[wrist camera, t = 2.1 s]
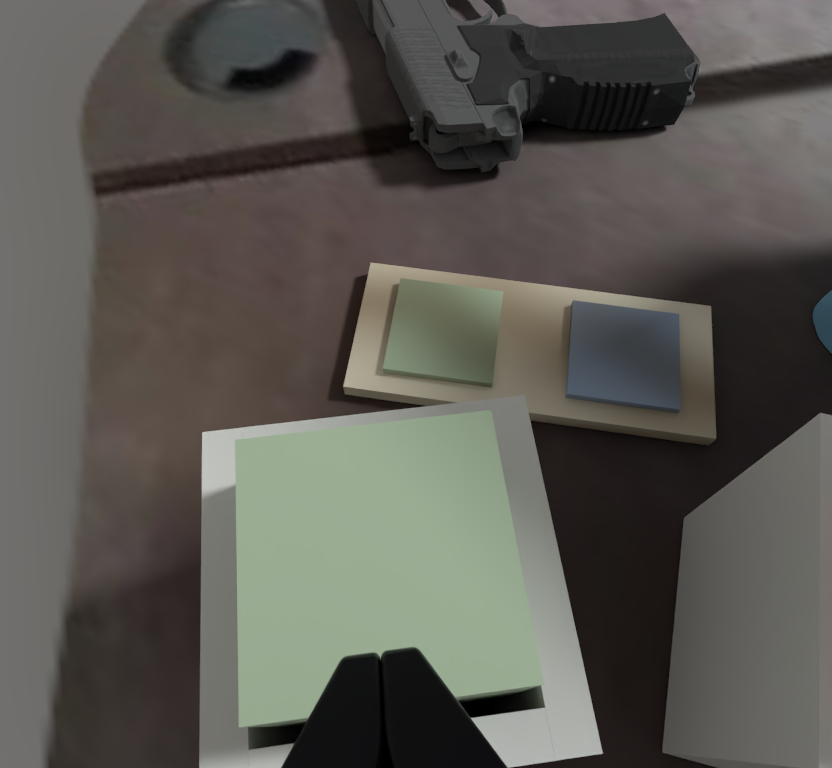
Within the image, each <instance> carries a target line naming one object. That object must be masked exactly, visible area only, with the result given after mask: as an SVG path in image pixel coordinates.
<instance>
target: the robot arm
mask: <svg viewBox="0 0 832 768" xmlns="http://www.w3.org/2000/svg"><path fill="white" fill-rule="evenodd" d="M281 768H508V767H507V766H506V765H505V763H504V762H503V761H502V759H501V758H500V757H499V755H498V754H497V753H496V751H495V750H494V749H493V747H492V746H491V745H490V743H489V742H488V741H487V739H486V738H485V737H484V735H483V734H482V733H481V731H480V730H479V728H478V727H477V726H476V724H475V723H474V722H473V720H472V719H471V718H470V716H469V715H468V714H467V712H466V711H465V710H464V708H463V707H462V706H461V704H460V703H459V702H458V700H457V699H456V698H455V696H454V695H453V694H452V692H451V691H450V690H449V688H448V687H447V686H446V684H445V683H444V682H443V680H442V679H441V678H440V676H439V675H438V674H437V672H436V671H435V670H434V668H433V667H432V666H431V664H430V663H429V662H428V660H427V659H426V657H425V656H424V655H423V653H422V652H421V651H420V650H419V649H418V648H416V647H407V648H400V649H392V650H386V651H384V652H383V653H382V655H381V659H380V656H379V655H378V654H377V653H375V652H370V653H363V654H356V655H348V656H345V657H343V658H342V659H341V660H340V662H339V663H338V665H337V667H336V669H335V671H334V672H333V674H332V676H331V678H330V680H329V682H328V683H327V685H326V687H325V689H324V691H323V692H322V694H321V696H320V698H319V700H318V702H317V703H316V705H315V707H314V709H313V711H312V712H311V714H310V716H309V718H308V720H307V721H306V723H305V725H304V727H303V729H302V731H301V732H300V734H299V736H298V738H297V740H296V741H295V743H294V745H293V747H292V749H291V751H290V752H289V754H288V756H287V758H286V760H285V761H284V763H283V765H282V767H281Z"/></svg>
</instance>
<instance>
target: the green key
mask: <svg viewBox="0 0 832 768" xmlns="http://www.w3.org/2000/svg"><path fill="white" fill-rule="evenodd" d="M235 476H236V552H237V628H238V704H239V727H303V726H304V725H305V723H306V721H307V720H308V718H309V716H310V714H311V712H312V711H313V709H314V707H315V705H316V703H317V702H318V700H319V698H320V696H321V694H322V692H323V691H324V689H325V687H326V685H327V683H328V682H329V680H330V678H331V676H332V674H333V672H334V671H335V669H336V667H337V665H338V663H339V662H340V660H341V659H342V658H343V657H345V656H348V655H356V654H363V653H370V652H375V653H377V654H378V655H379V656H380V659H381V655H382V653H383V652H384V651H386V650H392V649H400V648H407V647H416V648H418V649H419V650H420V651H421V652H422V653H423V655H424V656H425V657H426V659H427V660H428V662H429V663H430V664H431V666H432V667H433V668H434V670H435V671H436V672H437V674H438V675H439V676H440V678H441V679H442V680H443V682H444V683H445V684H446V686H447V687H448V688H449V690H450V691H451V692H452V694H453V695H454V696H455V698H456V699H457V700H458V702H459V703H460V704H461V705H463V704H470V703H477V702H484V701H491V700H496V699H499V698H502V697H506V696H509V695H512V694H515V693H518V692H522V691H525V690H528V689H531V688H535V687H538V686H541V685H544V683H543V677H542V672H541V667H540V662H539V657H538V651H537V646H536V641H535V636H534V630H533V625H532V620H531V615H530V610H529V604H528V599H527V594H526V589H525V584H524V578H523V573H522V568H521V563H520V558H519V552H518V547H517V542H516V537H515V532H514V526H513V521H512V516H511V511H510V506H509V500H508V495H507V490H506V485H505V480H504V474H503V469H502V464H501V459H500V454H499V448H498V443H497V438H496V433H495V428H494V422H493V417H492V412H491V410H486V411H478V412H469V413H460V414H452V415H443V416H435V417H426V418H417V419H409V420H400V421H392V422H383V423H375V424H366V425H357V426H349V427H340V428H332V429H323V430H315V431H306V432H297V433H289V434H280V435H272V436H263V437H254V438H246V439H237V440H235Z"/></svg>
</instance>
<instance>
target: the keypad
mask: <svg viewBox="0 0 832 768" xmlns="http://www.w3.org/2000/svg"><path fill="white" fill-rule="evenodd" d="M486 410H491V412H492V417H493V422H494V428H495V433H496V438H497V443H498V448H499V454H500V459H501V464H502V469H503V474H504V480H505V485H506V490H507V495H508V500H509V506H510V511H511V516H512V521H513V526H514V532H515V537H516V542H517V547H518V552H519V558H520V563H521V568H522V573H523V578H524V584H525V589H526V594H527V599H528V604H529V610H530V615H531V620H532V625H533V630H534V636H535V641H536V646H537V651H538V657H539V662H540V667H541V672H542V677H543V683H544V685H541V686H538V687H535V688H531V689H528V690H525V691H522V692H518V693H515V694H512V695H509V696H506V697H502V698H499V699H496V700H493V701H494V707H495V714H493V715H486V716H479V717H472V718H471V719H472V720H473V722H474V723H475V724H476V726H477V727H478V728H479V730H480V731H481V733H482V734H483V735H484V737H485V738H486V739H487V741H488V742H489V743H490V745H491V746H492V747H493V749H494V750H495V751H496V753H497V754H498V755H499V757H500V758H501V759H502V761H503V762H504V763H505V765H506V766H507V767H508V768H510V767H517V766H524V765H531V764H537V763H544V762H551V761H557V760H563V759H570V758H577V757H584V756H591V755H597V754H603V752H602V747H601V743H600V738H599V733H598V729H597V724H596V720H595V715H594V710H593V706H592V701H591V697H590V692H589V688H588V683H587V678H586V674H585V669H584V665H583V660H582V655H581V651H580V646H579V642H578V637H577V632H576V628H575V623H574V619H573V614H572V610H571V605H570V600H569V596H568V591H567V587H566V582H565V577H564V573H563V568H562V564H561V559H560V554H559V550H558V545H557V541H556V536H555V532H554V527H553V522H552V518H551V513H550V509H549V504H548V499H547V495H546V490H545V486H544V481H543V476H542V472H541V467H540V463H539V458H538V454H537V449H536V444H535V440H534V435H533V431H532V426H531V421H530V417H529V412H528V408H527V403H526V398H525V395H521V396H512V397H504V398H495V399H485V400H477V401H468V402H459V403H451V404H442V405H433V406H425V407H416V408H407V409H399V410H390V411H382V412H373V413H364V414H356V415H347V416H338V417H330V418H321V419H312V420H304V421H295V422H286V423H278V424H269V425H260V426H252V427H243V428H235V429H227V430H218V431H210V432H202V518H201V626H200V734H199V768H281V767H282V765H283V763H284V761H285V760H286V758H287V756H288V754H289V752H290V751H291V749H292V747H293V745H294V743H295V741H296V740H297V738H298V736H299V734H300V732H301V731H302V729H303V727H304V726H303V727H239V704H238V628H237V552H236V476H235V440H237V439H246V438H254V437H263V436H272V435H280V434H289V433H297V432H306V431H315V430H323V429H332V428H340V427H349V426H357V425H366V424H375V423H383V422H392V421H400V420H409V419H417V418H426V417H435V416H443V415H452V414H460V413H469V412H478V411H486ZM662 753H666V754H669V755H673V756H676V757H680V758H683V759H687V760H690V761H695V762H699V763H702V764H706V765H709V766H713V767H716V768H832V415H828V414H823V413H820V414H818V415H817V416H816V417H814V418H813V419H812V420H811V421H809V422H808V423H807V424H805V425H804V426H803V427H801V428H800V429H799V430H798V431H796V432H795V433H794V434H792V435H791V436H790V437H788V438H787V439H786V440H785V441H783V442H782V443H781V444H779V445H778V446H777V447H775V448H774V449H773V450H772V451H770V452H769V453H768V454H766V455H765V456H764V457H762V458H761V459H760V460H758V461H757V462H756V463H755V464H753V465H752V466H751V467H749V468H748V469H747V470H745V471H744V472H743V473H742V474H740V475H739V476H738V477H736V478H735V479H734V480H732V481H731V482H730V483H729V484H727V485H726V486H725V487H723V488H722V489H721V490H719V491H718V492H717V493H716V494H714V495H713V496H712V497H710V498H709V499H708V500H706V501H705V502H704V503H702V504H701V505H700V506H699V507H697V508H696V509H695V510H693V511H692V512H691V513H689V514H688V515H687V516H686V517H684V522H683V532H682V543H681V554H680V565H679V575H678V586H677V597H676V607H675V618H674V629H673V640H672V650H671V661H670V672H669V682H668V693H667V704H666V715H665V725H664V736H663V747H662Z"/></svg>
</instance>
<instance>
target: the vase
mask: <svg viewBox="0 0 832 768" xmlns="http://www.w3.org/2000/svg"><path fill="white" fill-rule="evenodd" d="M813 322H814V326H815V329H816V332H817V335H818V337H819V339H820V341H821V342H822V344H823V345H824V346H825V347H826V348H827V349H828V351H829V352H830V353H831V354H832V290H831V291H830V292H828V293H827V294H826V295H825V296H824V297H823V298H822V299H821V300H820V301H819V302H818V303H817V305H816V306H815V308H814V310H813Z"/></svg>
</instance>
